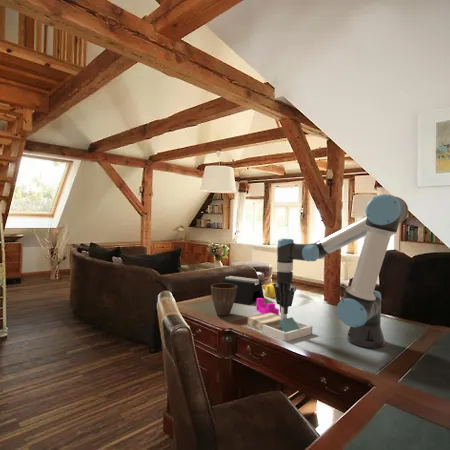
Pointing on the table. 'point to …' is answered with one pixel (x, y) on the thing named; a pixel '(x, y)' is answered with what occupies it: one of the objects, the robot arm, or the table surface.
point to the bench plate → (264, 321)
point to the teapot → (269, 290)
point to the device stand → (245, 289)
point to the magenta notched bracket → (266, 307)
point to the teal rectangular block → (288, 324)
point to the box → (289, 335)
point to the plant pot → (223, 297)
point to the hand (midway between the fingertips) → (283, 320)
